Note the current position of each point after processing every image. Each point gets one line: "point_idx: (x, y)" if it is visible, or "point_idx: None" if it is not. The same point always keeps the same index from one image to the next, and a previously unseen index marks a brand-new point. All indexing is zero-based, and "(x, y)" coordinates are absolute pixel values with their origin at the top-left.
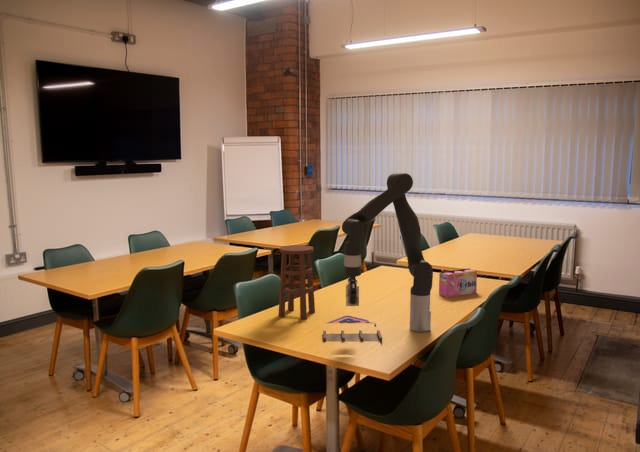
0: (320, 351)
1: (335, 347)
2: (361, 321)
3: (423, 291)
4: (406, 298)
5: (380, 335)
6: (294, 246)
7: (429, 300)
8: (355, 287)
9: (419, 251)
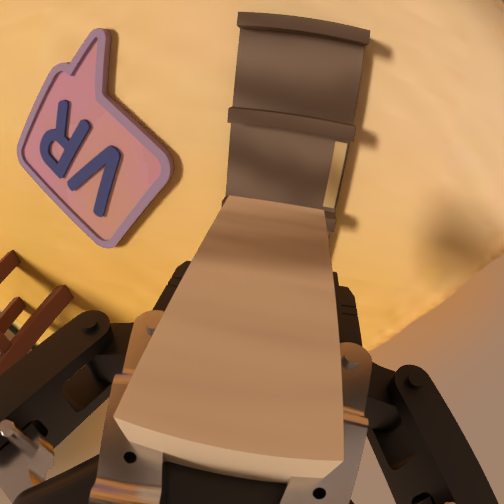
0: (387, 307)
1: (368, 254)
2: (61, 94)
3: None
4: None
5: (331, 26)
6: None
7: None
8: (480, 488)
9: None
